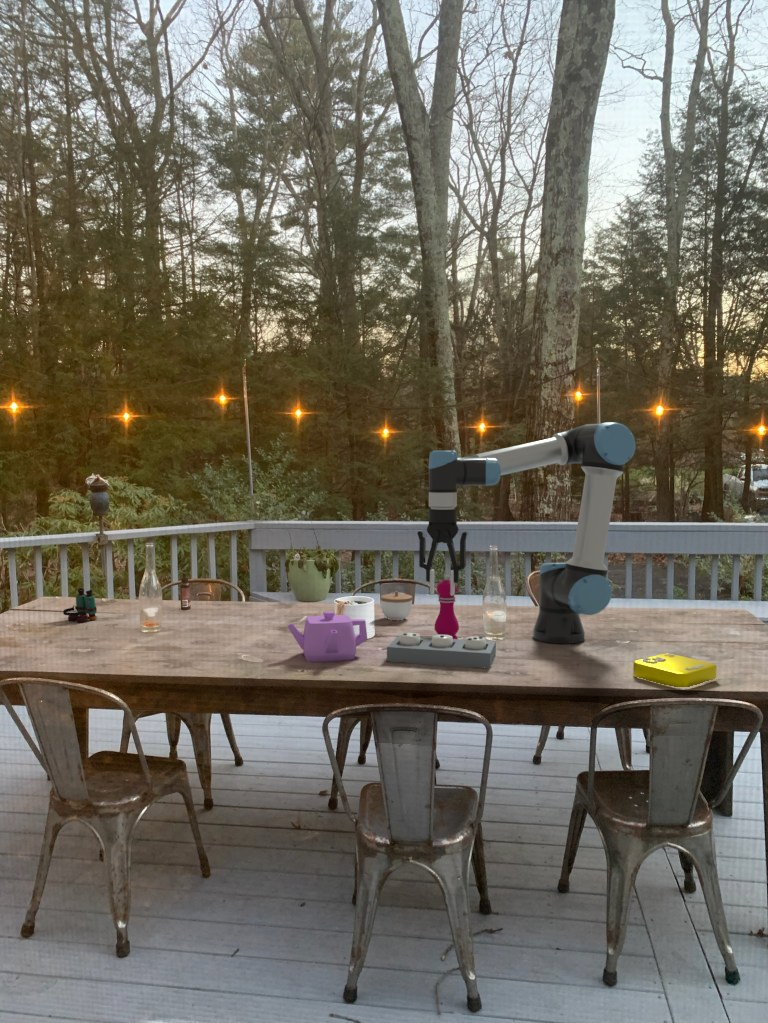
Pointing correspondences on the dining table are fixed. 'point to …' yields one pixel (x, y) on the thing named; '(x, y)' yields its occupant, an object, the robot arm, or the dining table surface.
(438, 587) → the pepper mill
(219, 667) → the dining table surface
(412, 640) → the button two dots
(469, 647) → the button three dots
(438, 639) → the button one dot
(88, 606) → the binoculars
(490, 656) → the console
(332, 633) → the teakettle
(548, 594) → the robot arm
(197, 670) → the dining table surface
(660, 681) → the element tile
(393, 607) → the lidded jar
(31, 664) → the dining table surface
